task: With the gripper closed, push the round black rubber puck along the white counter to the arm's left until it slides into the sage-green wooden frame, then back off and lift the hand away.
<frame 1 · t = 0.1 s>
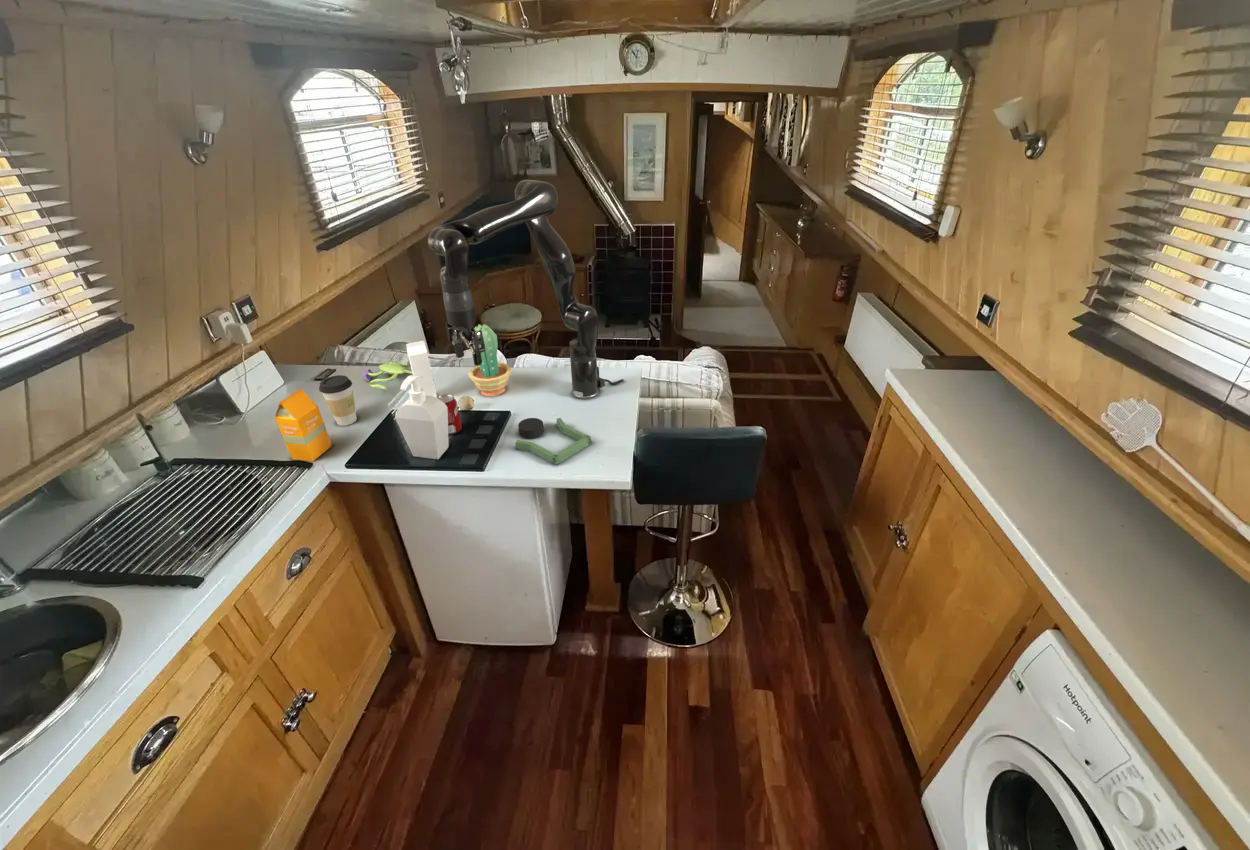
hand: (469, 360, 157), 29 cm above the worktop, tool pointing down, fingers open, 8 cm apart
coffee cup: (347, 421, 187), on the worktop
orange juice: (312, 452, 171), on the worktop
soap bottle: (429, 453, 169), on the worktop
soda can: (451, 431, 180), on the worktop
puck: (531, 432, 179), on the worktop
milk: (428, 399, 199), on the worktop
frame: (559, 446, 171), on the worktop
figurine: (394, 381, 212), on the worktop
potted cactus: (493, 391, 204), on the worktop
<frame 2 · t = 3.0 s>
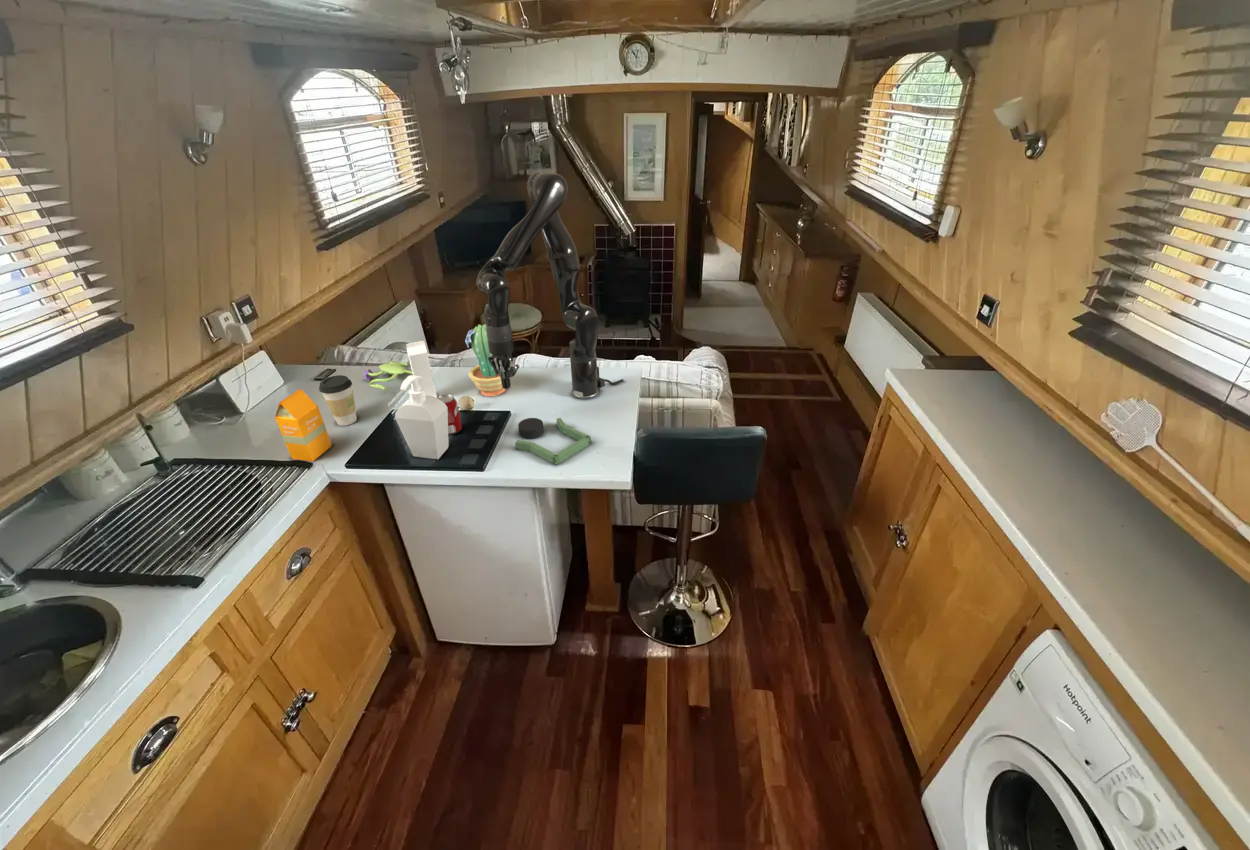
hand: (506, 387, 178), 13 cm above the worktop, tool pointing down, fingers closed
nothing on the worktop moved.
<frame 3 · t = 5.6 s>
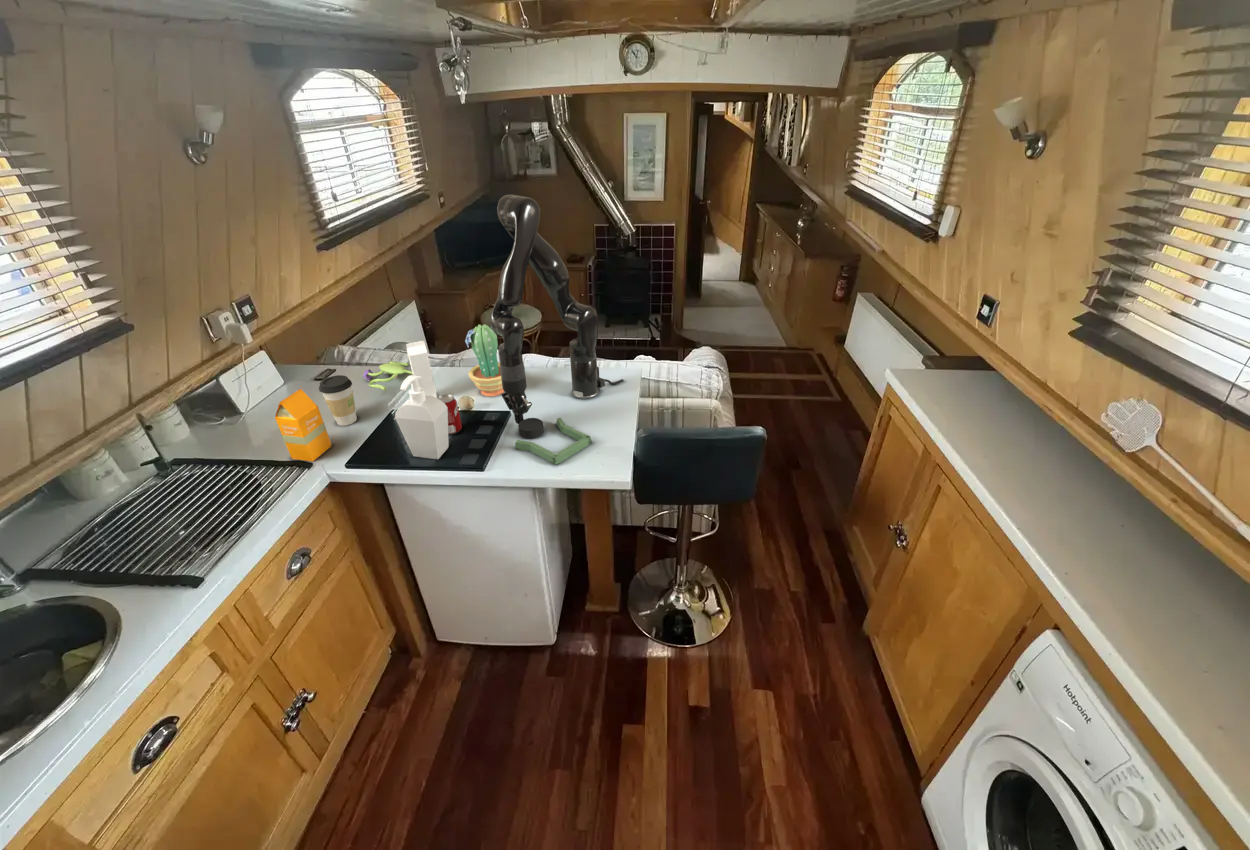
hand: (519, 422, 181), 1 cm above the worktop, tool pointing down, fingers closed
puck: (531, 432, 179), on the worktop, touching gripper
everything else where it was.
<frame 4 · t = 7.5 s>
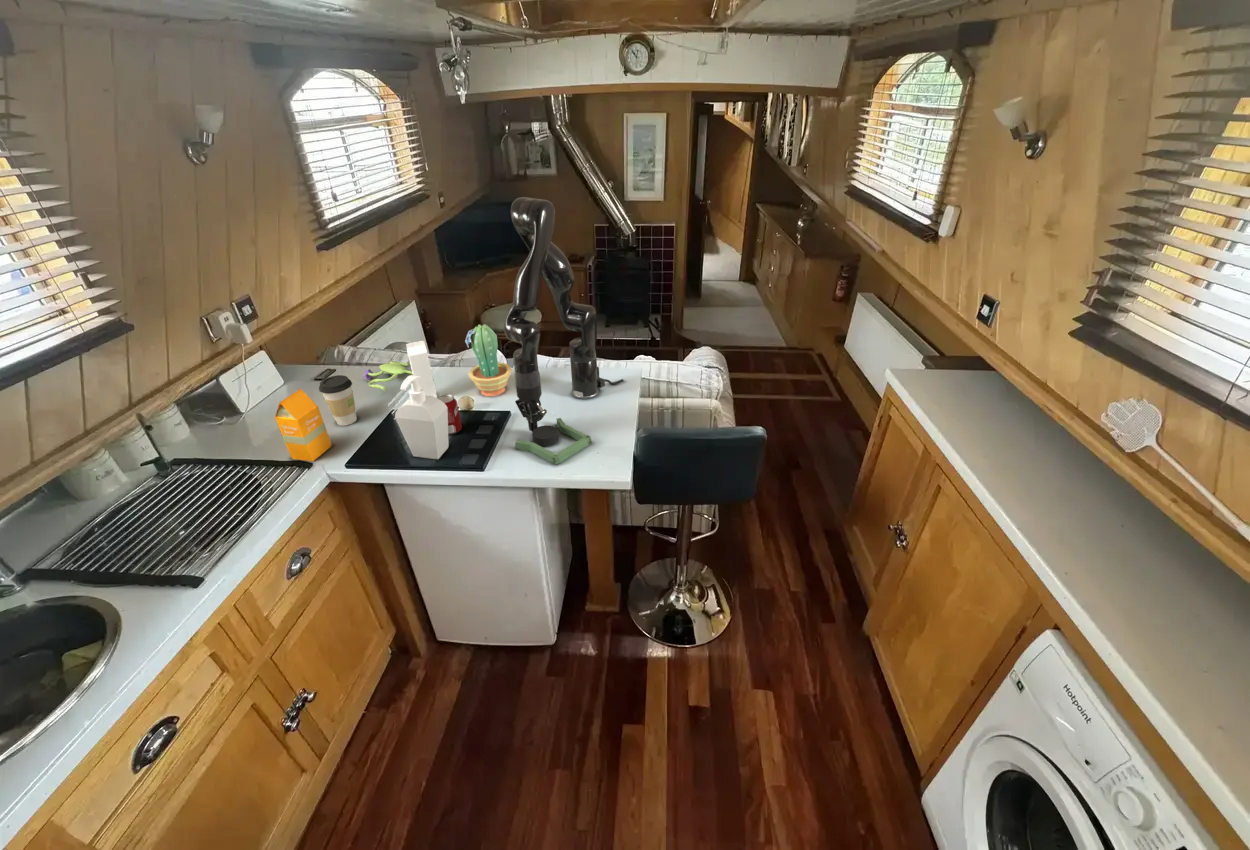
hand: (533, 430, 177), 1 cm above the worktop, tool pointing down, fingers closed
puck: (545, 440, 175), on the worktop, touching gripper
everything else where it was.
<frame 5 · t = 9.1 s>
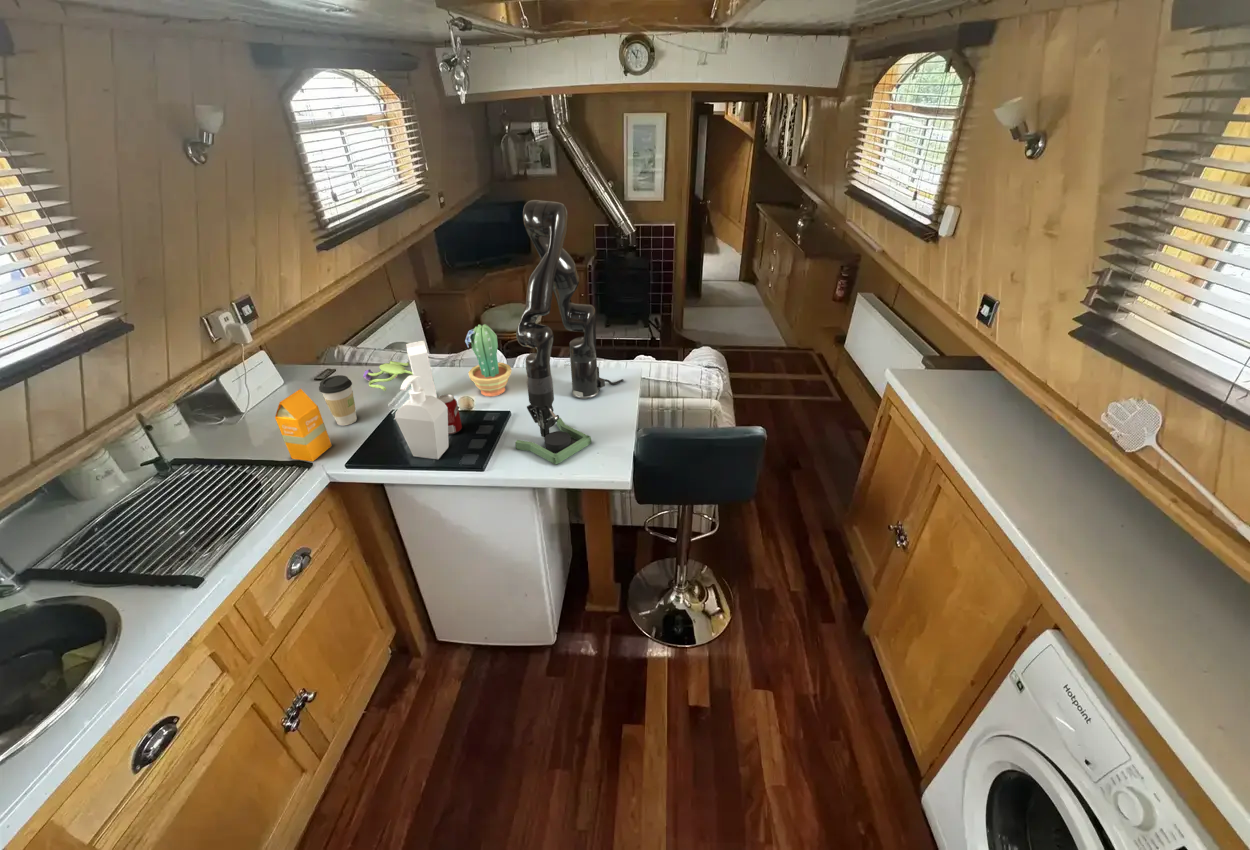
hand: (545, 436, 174), 1 cm above the worktop, tool pointing down, fingers closed
puck: (558, 446, 172), on the worktop, touching gripper
everything else where it was.
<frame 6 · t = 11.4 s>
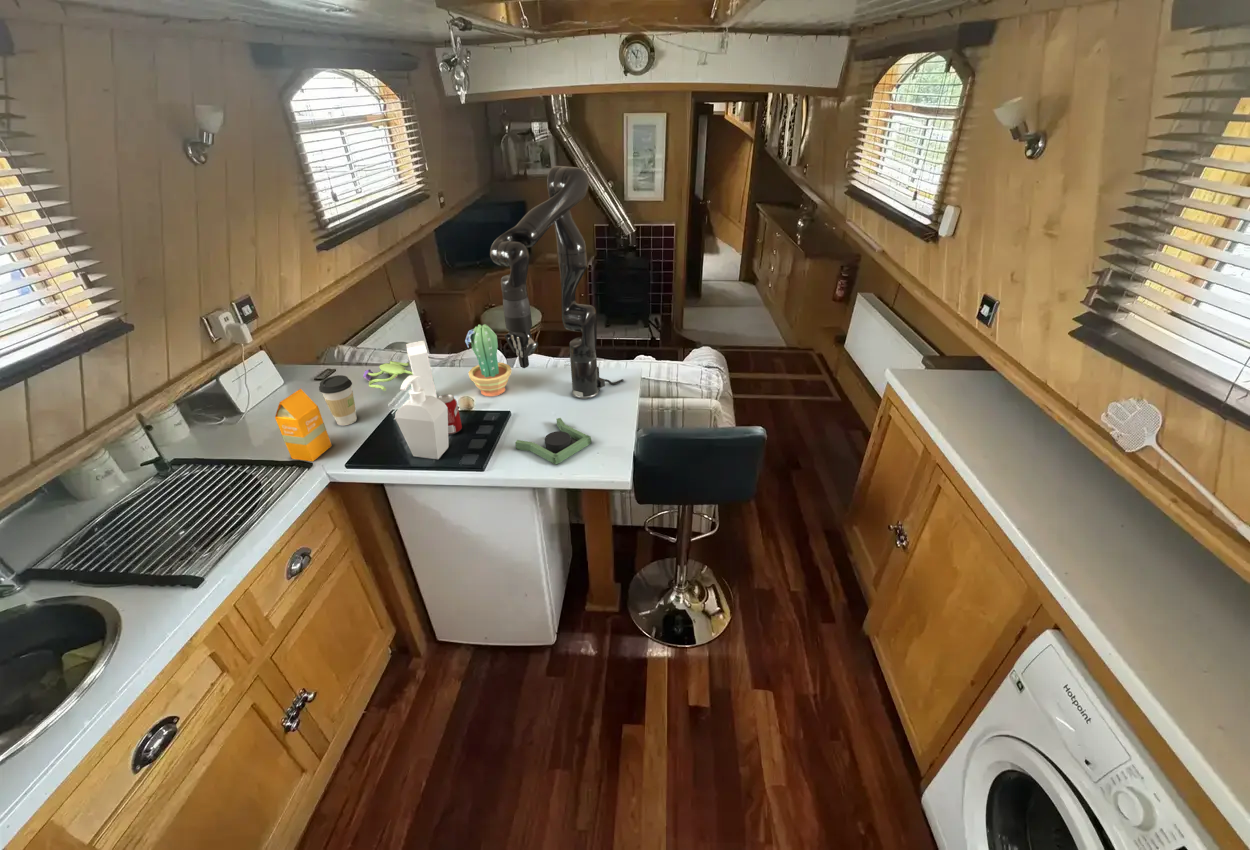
hand: (524, 366, 167), 23 cm above the worktop, tool pointing down, fingers closed
puck: (558, 446, 172), on the worktop
everything else where it was.
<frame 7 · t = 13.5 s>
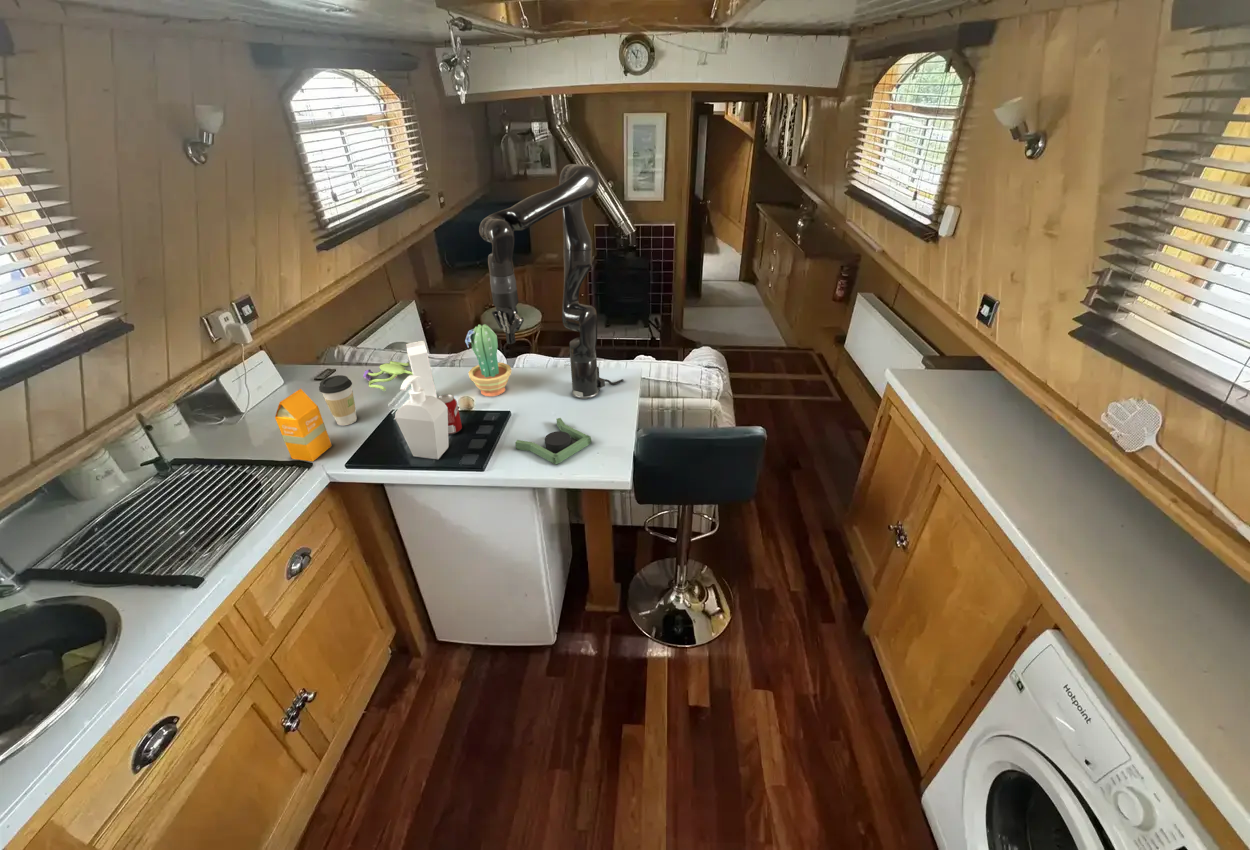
hand: (511, 343, 173), 27 cm above the worktop, tool pointing down, fingers closed
nothing on the worktop moved.
at the end: puck inside the target area on the frame (0.2 cm from its centre), point 0.0 cm above the frame's base; puck tilted 0°; puck moved 12.7 cm from its start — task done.
